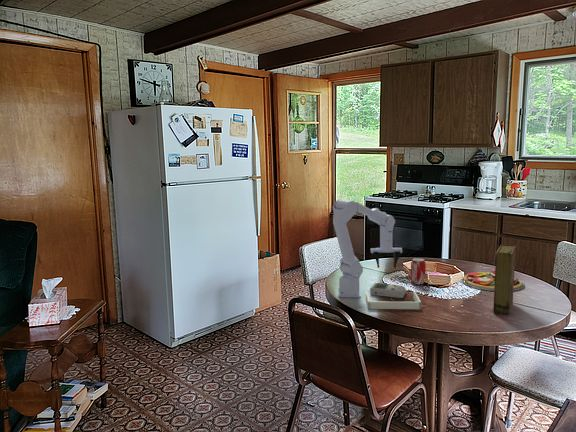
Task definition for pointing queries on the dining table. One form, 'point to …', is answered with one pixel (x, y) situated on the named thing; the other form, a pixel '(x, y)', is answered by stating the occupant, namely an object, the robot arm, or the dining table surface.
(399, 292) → the handheld gaming device
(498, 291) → the book
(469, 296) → the dining table surface
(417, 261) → the soda can
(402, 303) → the white tray
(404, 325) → the dining table surface
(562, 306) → the dining table surface
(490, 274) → the toy pizza
